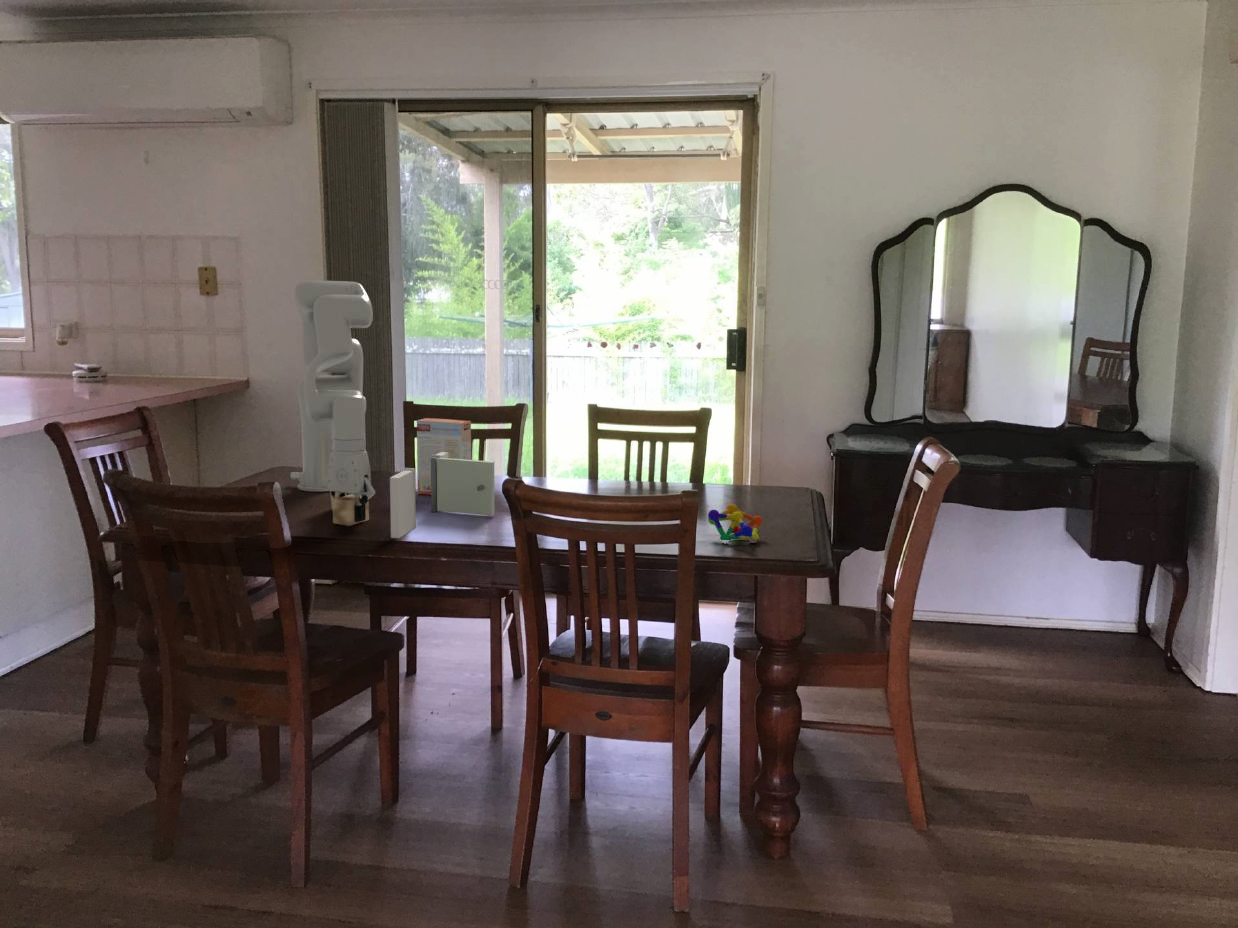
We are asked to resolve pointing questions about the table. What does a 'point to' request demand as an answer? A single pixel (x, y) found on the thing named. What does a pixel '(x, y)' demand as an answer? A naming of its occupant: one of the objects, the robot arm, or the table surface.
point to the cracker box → (440, 445)
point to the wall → (404, 500)
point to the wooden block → (346, 510)
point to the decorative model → (735, 523)
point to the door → (462, 486)
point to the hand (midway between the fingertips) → (351, 518)
